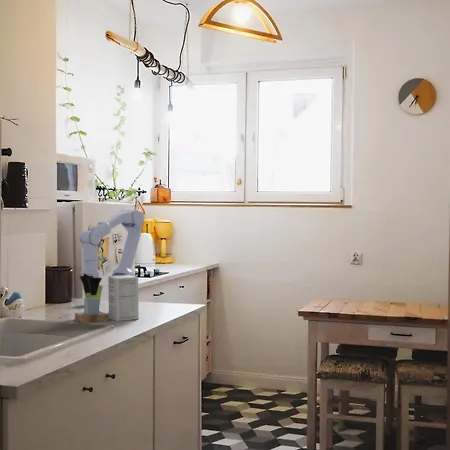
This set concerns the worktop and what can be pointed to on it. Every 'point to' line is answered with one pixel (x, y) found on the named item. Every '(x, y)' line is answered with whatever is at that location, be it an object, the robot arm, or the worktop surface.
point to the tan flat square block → (91, 317)
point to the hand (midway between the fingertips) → (90, 294)
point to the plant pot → (88, 295)
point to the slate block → (91, 306)
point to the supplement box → (123, 297)
